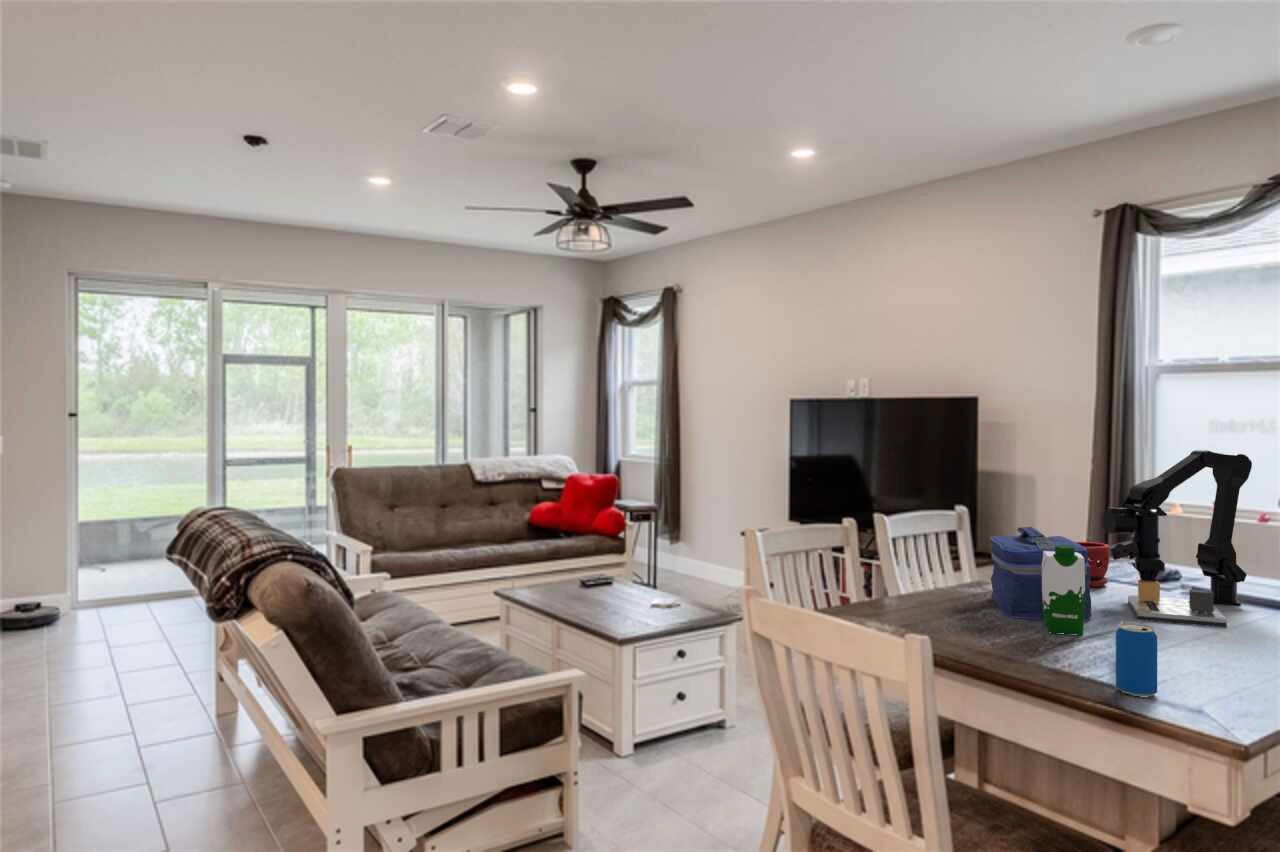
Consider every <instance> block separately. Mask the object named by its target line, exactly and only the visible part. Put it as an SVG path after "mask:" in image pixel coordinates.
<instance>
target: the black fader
mask: <svg viewBox="0 0 1280 852" xmlns="http://www.w3.org/2000/svg"><path fill="white" fill-rule="evenodd" d="M1189 599H1190V609H1191V610H1192V611H1198V613H1199V614H1201V615H1204V612H1214V606H1215V605H1214V604H1215V603H1214V593H1213V592H1212V591H1211V590H1205V589H1204V590H1203V589H1189Z"/></svg>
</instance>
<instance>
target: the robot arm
mask: <svg viewBox="0 0 1280 852" xmlns="http://www.w3.org/2000/svg"><path fill="white" fill-rule="evenodd" d="M1205 468H1210V469H1212V475H1213V478H1214V482H1215V483H1216V491H1215V498H1214V505H1213V510H1212V518H1211V524H1210V529H1209V537H1208V539H1207V540H1206V541H1205V542H1204V543H1201V542H1199V543H1198V545H1197V553H1196V555H1195V558H1196V561H1197V566H1198V567H1200V569H1201V572H1202V575H1203V576H1204V577H1210V591H1212V592H1213V593H1214V604H1223V605H1235V606H1237V605H1238V606H1241V605H1242V602H1240V601H1239V600H1238V583H1241V582H1242V583H1243V582H1245V581H1246V577H1247V573H1246V572H1245V571H1244V570H1243V569H1242V568H1241V567H1240V565H1239V564H1237V552H1236V550H1235V547H1234V545H1233V541H1232V539H1233V534H1234V528H1235V522H1236V515H1237V509H1238V501H1239V496H1240V491H1241V488H1242V486H1243V485H1244V484H1245V483H1246V482H1247V481H1248V479H1249V477H1250V475H1251V474H1250V473H1251V471H1252V468H1253V462H1252V460H1251V459H1250V458H1249V457H1248V456H1247V455H1246V454H1243V453H1230V452H1228V453H1227V452H1222V453H1218V452H1214V451H1210V450H1207V449H1206V450H1205V449H1195V450H1192V451H1191V452H1190V454H1189V455H1187V456H1185V458H1183V459H1181V460H1180V461H1178V462H1177V463H1176V464H1174V465H1172V466H1171V467H1170V468H1168V469H1166V470H1165V471H1163V472H1162V473H1161V474H1160V475H1158V476H1155V477H1154V478H1151V479H1150V478H1149V479H1147V480H1143V481H1142V482H1139V483H1136V484H1135V485H1133V486H1131V488H1129V490H1128V491H1129V493H1128V494H1127V496H1126V498H1125V499H1124V501H1123V502H1122V503H1121V504H1120V507H1109V506H1108V507H1107V509H1106V510H1107V511H1106V512H1105V513H1104V514H1103V517H1102V519H1101V525H1102V528H1103V530H1104V531H1105V532H1106V533H1107V534H1108V535H1109V534H1110V535H1111V534H1132V535H1130V540H1126V541H1123V542H1119V543H1115V544H1112V545H1109V547H1108V548H1109V554H1110V555H1111V558H1112V559H1113V560H1114V561H1116V560H1117V561H1118V560H1120V559H1121V558H1125V557H1128V558H1127V559H1128V560H1133V559H1134V562H1131V565H1132V567H1133V569H1135V570H1137V572H1138V575H1139V576H1138V577H1139V579H1140V580H1143V581H1155V580H1156V578H1157V576H1158V574H1159V573H1160V572H1165V569H1166V565H1165V564H1166V563H1165V562H1164V561H1163V560H1162V559H1161V554H1160V553H1159V552H1160V551H1159V545H1160V544H1159V543H1161V541H1160V540H1161V538H1160V537H1159V535H1160V534H1159V532H1160V531H1159V525H1160V524H1159V517H1166V516H1168V514H1167V512H1165V511H1164V510H1163V509H1162V508H1161V507H1160V506H1161V505H1163V503H1164V502H1165V501H1167V499H1168V498H1169V497H1170V494H1171V492H1172V491H1173V490H1174V489H1176V488H1177V487H1178V486H1181V485H1182V484H1183V483H1185V481H1187V480H1189V479H1190V478H1192V477H1193V476H1195V475H1197V473H1199V472H1200V471H1202V470H1203V469H1205Z"/></svg>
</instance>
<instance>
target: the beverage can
mask: <svg viewBox="0 0 1280 852" xmlns="http://www.w3.org/2000/svg"><path fill="white" fill-rule="evenodd" d="M1134 623H1135V622H1130V623H1123V624H1121V623H1119V624H1118V628H1117V629H1116V630H1115V687H1116V689H1118V690H1121V691H1122V692H1124V693H1127V694H1131V695H1136V696H1151V695H1152V696H1154V695H1155V694H1158V635H1157V633H1156V632H1155V628H1154V627H1153V626H1150V625H1145V624H1142V623H1141V624H1140V623H1135V624H1134ZM1121 691H1120V692H1121ZM1122 692H1121V693H1122ZM1124 693H1123V694H1124ZM1152 696H1151V697H1152Z"/></svg>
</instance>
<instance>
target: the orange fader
mask: <svg viewBox="0 0 1280 852" xmlns="http://www.w3.org/2000/svg"><path fill="white" fill-rule="evenodd" d="M1137 584H1138V585H1137V596H1138V598H1139V600H1144V601H1146V604H1147V605H1151V601H1157V602H1160V597H1161V596H1160V595H1161V593H1160V592H1161V590H1160V589H1161V584H1160V582H1159V581H1155V580H1154V581H1143V580H1139V579H1138V580H1137Z"/></svg>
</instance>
